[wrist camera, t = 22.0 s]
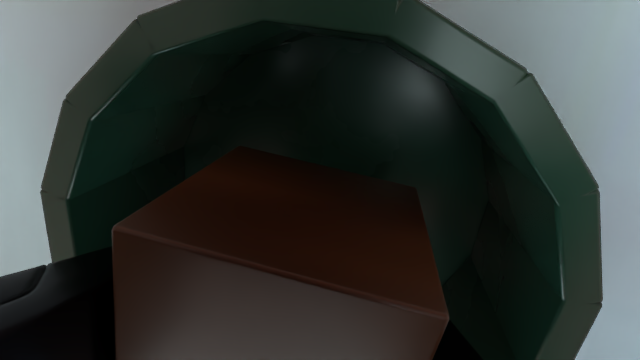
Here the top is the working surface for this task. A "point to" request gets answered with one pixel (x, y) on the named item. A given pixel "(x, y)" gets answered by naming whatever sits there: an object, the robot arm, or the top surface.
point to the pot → (349, 145)
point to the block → (277, 267)
